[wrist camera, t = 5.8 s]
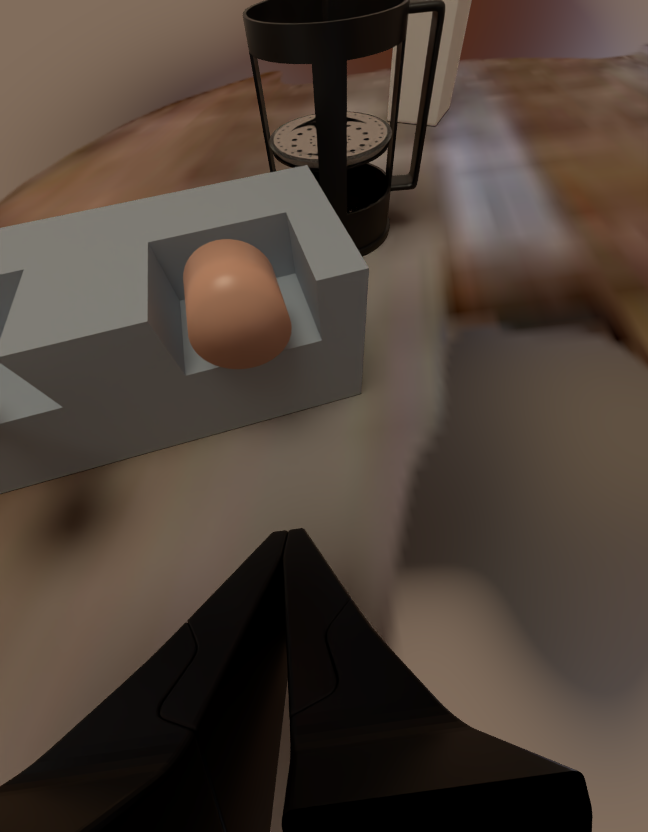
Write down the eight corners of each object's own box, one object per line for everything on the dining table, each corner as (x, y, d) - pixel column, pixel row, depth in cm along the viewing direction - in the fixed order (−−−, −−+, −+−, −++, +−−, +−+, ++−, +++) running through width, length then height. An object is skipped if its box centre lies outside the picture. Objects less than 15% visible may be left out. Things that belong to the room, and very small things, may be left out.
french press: (268, 267, 25) (-13, -936, 6) (274, 205, 30) (135, -555, 10) (418, 256, 25) (691, -1098, 5) (400, 195, 30) (504, -622, 10)
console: (361, 393, 19) (368, 268, 12) (-262, 566, 16) (-736, 533, 9) (319, 296, 23) (307, 164, 16) (-169, 415, 20) (-434, 317, 13)
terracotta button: (297, 355, 13) (282, 278, 10) (210, 378, 13) (167, 306, 10) (274, 284, 16) (256, 205, 13) (201, 302, 15) (164, 225, 12)
